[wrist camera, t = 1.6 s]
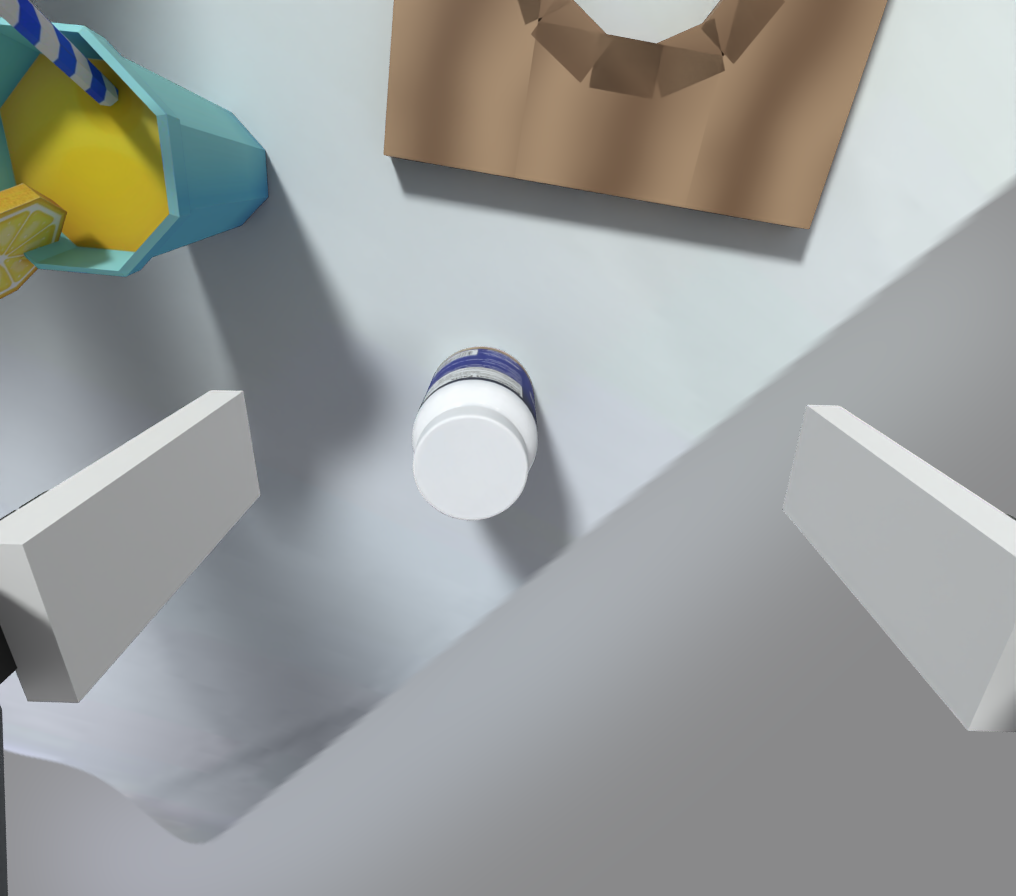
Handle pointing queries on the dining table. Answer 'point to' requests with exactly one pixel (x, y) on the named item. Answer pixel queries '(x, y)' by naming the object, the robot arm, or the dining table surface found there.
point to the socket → (633, 99)
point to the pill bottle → (475, 434)
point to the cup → (108, 156)
